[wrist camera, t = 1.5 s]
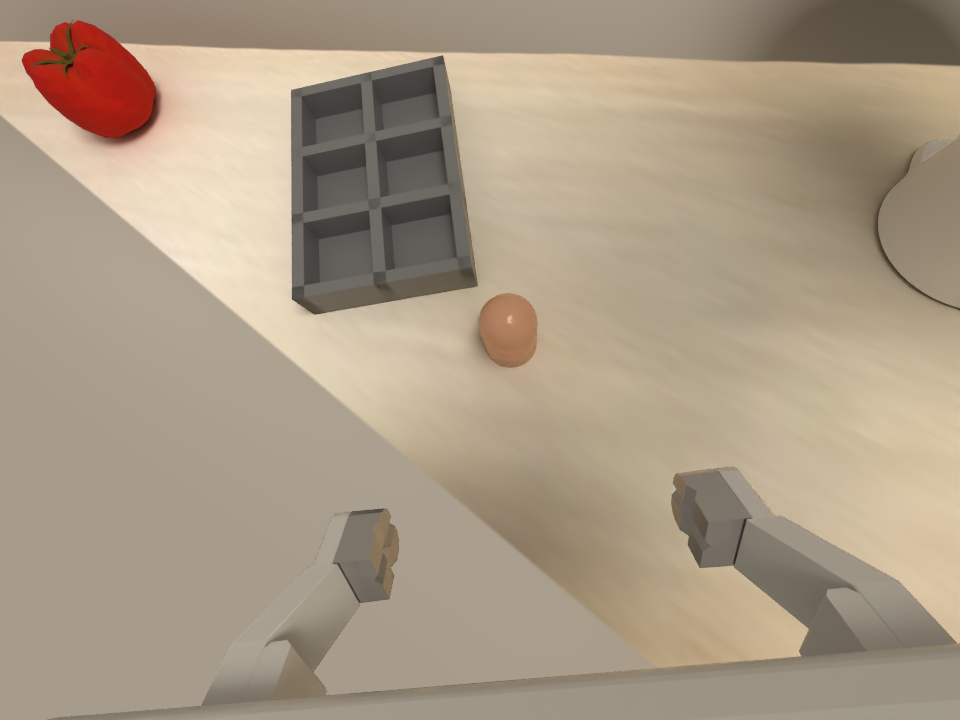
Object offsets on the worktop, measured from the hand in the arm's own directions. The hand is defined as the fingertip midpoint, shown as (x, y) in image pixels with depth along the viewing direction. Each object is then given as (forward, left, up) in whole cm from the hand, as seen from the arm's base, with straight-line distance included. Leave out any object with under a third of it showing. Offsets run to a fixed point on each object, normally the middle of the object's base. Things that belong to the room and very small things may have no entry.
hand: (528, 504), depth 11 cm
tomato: (+44, -51, -24) cm, 72 cm away
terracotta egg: (0, -12, -24) cm, 27 cm away
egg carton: (+11, -31, -24) cm, 41 cm away
